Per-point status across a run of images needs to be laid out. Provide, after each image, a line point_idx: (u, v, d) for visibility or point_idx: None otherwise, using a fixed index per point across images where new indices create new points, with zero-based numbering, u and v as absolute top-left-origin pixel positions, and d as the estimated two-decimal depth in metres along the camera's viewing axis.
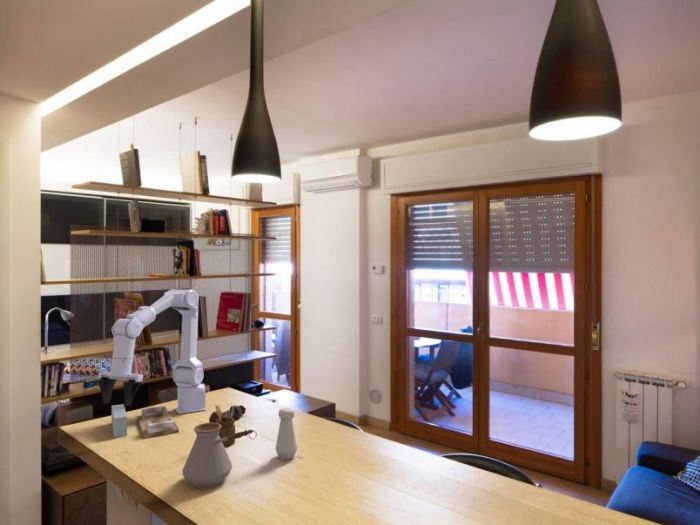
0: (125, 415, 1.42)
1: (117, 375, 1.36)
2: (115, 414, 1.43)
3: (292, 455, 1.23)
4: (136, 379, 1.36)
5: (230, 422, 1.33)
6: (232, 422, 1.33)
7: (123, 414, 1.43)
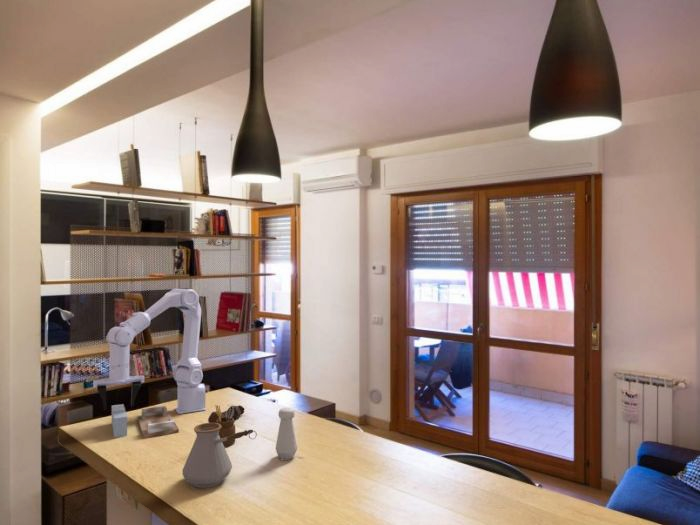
0: (125, 415, 1.42)
1: (124, 381, 1.45)
2: (115, 414, 1.43)
3: (292, 455, 1.23)
4: (142, 380, 1.49)
5: (230, 422, 1.33)
6: (232, 422, 1.33)
7: (123, 414, 1.43)
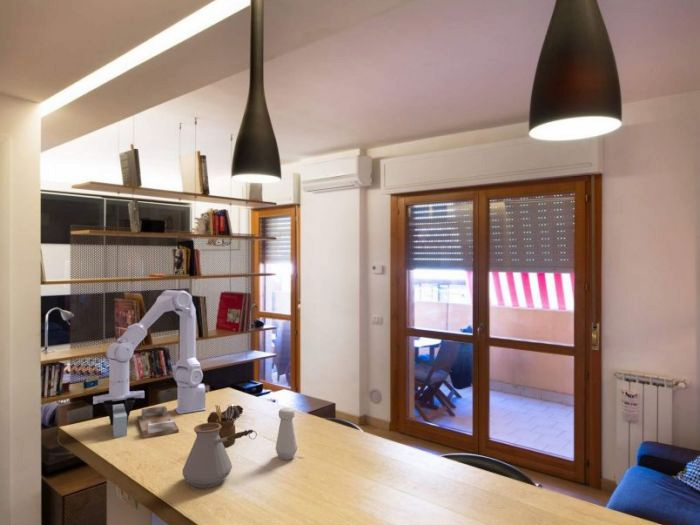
0: (125, 415, 1.42)
1: (124, 396, 1.45)
2: (115, 414, 1.43)
3: (292, 455, 1.23)
4: (142, 396, 1.49)
5: (230, 422, 1.33)
6: (232, 422, 1.33)
7: (123, 413, 1.43)
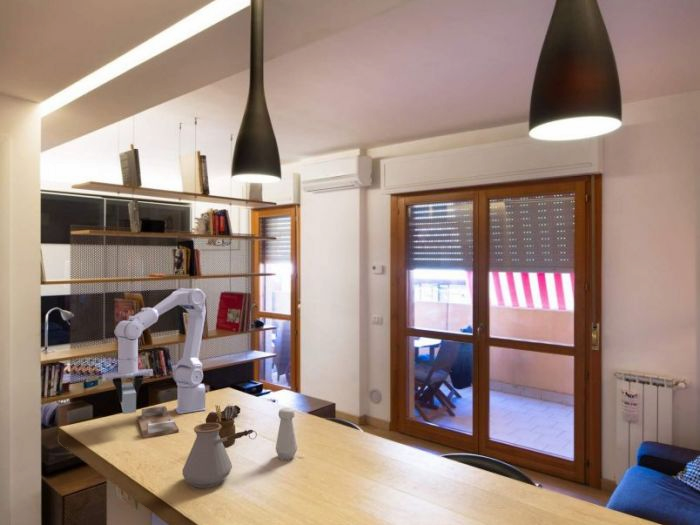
0: (134, 391, 1.42)
1: (133, 374, 1.45)
2: (124, 391, 1.43)
3: (292, 455, 1.23)
4: (151, 374, 1.50)
5: (230, 422, 1.33)
6: (232, 422, 1.33)
7: (132, 390, 1.44)
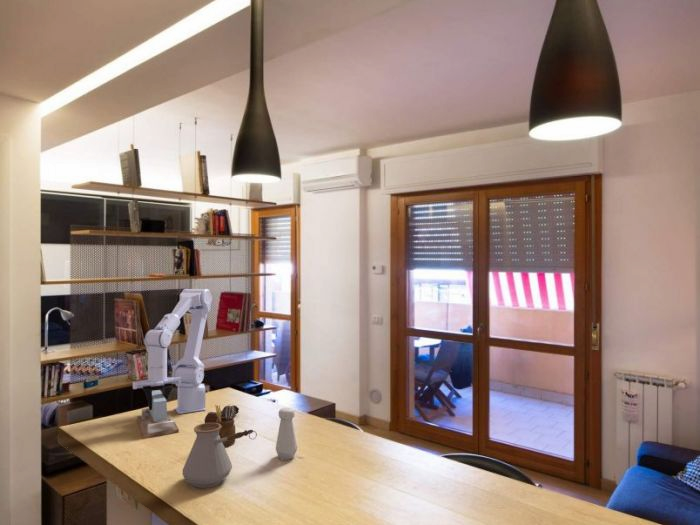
0: (164, 399, 1.45)
1: (163, 382, 1.48)
2: (154, 398, 1.46)
3: (292, 455, 1.23)
4: (179, 382, 1.52)
5: (230, 422, 1.33)
6: (232, 422, 1.33)
7: (162, 398, 1.46)
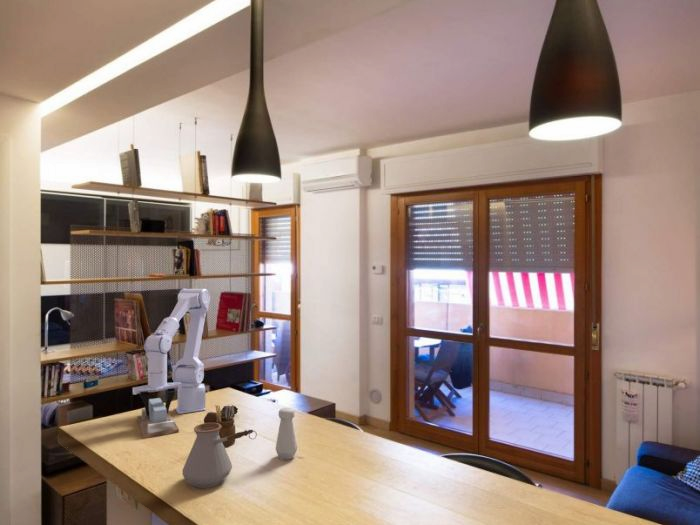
0: (164, 408, 1.45)
1: (163, 387, 1.48)
2: (154, 407, 1.46)
3: (292, 455, 1.23)
4: (179, 387, 1.52)
5: (230, 422, 1.33)
6: (232, 422, 1.33)
7: (162, 407, 1.46)
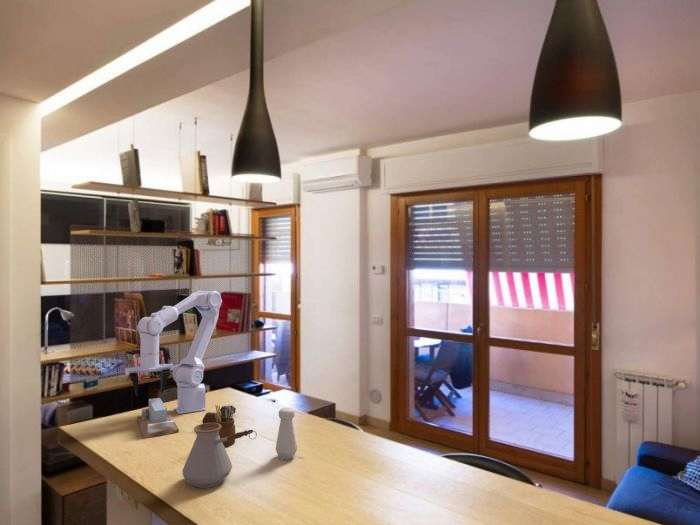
0: (164, 408, 1.45)
1: (155, 368, 1.51)
2: (154, 407, 1.46)
3: (292, 455, 1.23)
4: (171, 368, 1.56)
5: (230, 422, 1.33)
6: (232, 422, 1.33)
7: (162, 407, 1.46)
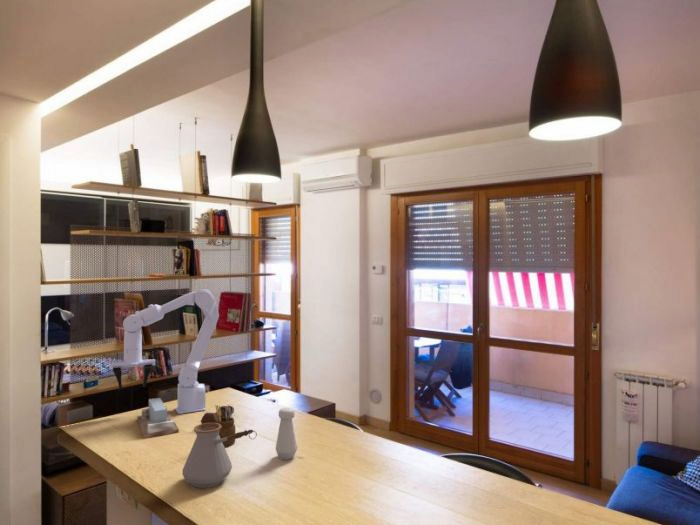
0: (164, 408, 1.45)
1: (137, 363, 1.59)
2: (154, 407, 1.46)
3: (292, 455, 1.23)
4: (153, 363, 1.63)
5: (230, 422, 1.33)
6: (232, 422, 1.33)
7: (162, 407, 1.46)
